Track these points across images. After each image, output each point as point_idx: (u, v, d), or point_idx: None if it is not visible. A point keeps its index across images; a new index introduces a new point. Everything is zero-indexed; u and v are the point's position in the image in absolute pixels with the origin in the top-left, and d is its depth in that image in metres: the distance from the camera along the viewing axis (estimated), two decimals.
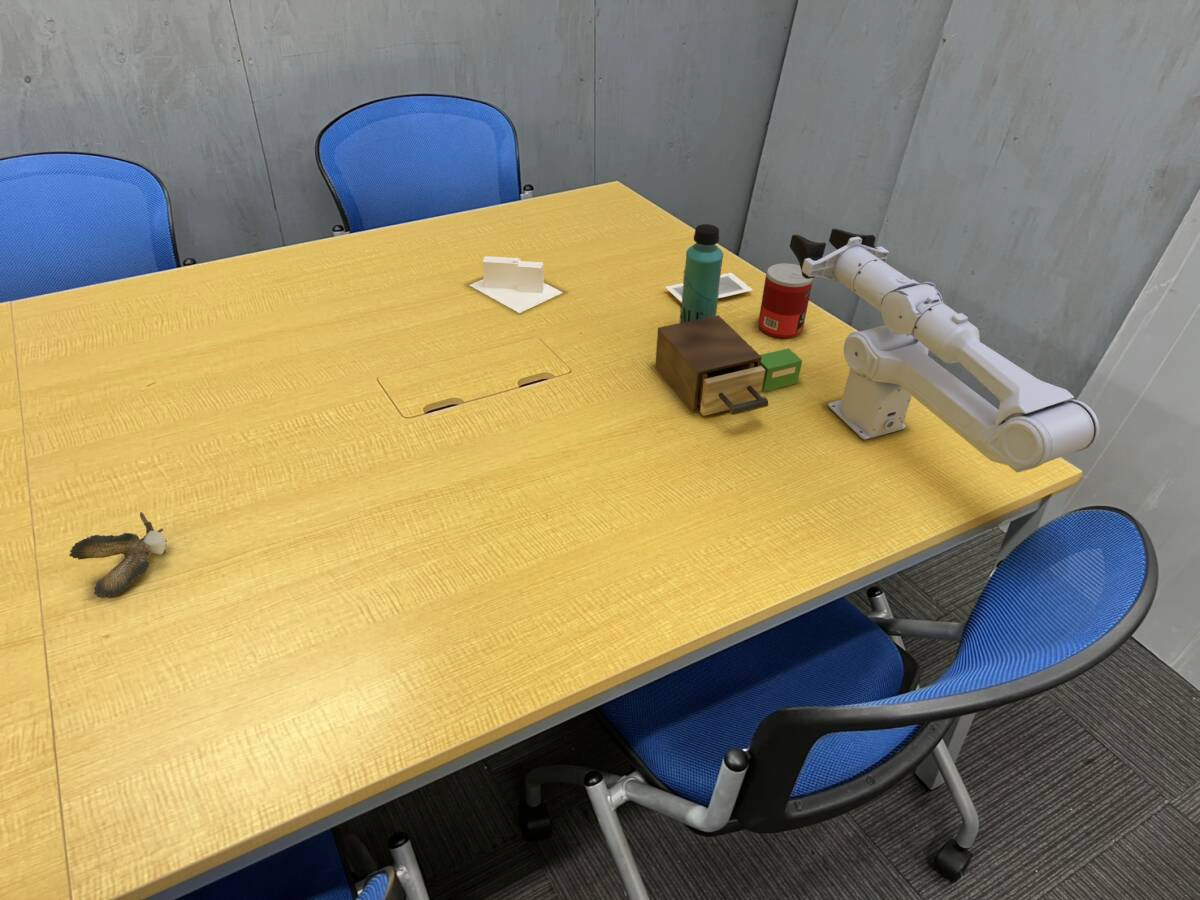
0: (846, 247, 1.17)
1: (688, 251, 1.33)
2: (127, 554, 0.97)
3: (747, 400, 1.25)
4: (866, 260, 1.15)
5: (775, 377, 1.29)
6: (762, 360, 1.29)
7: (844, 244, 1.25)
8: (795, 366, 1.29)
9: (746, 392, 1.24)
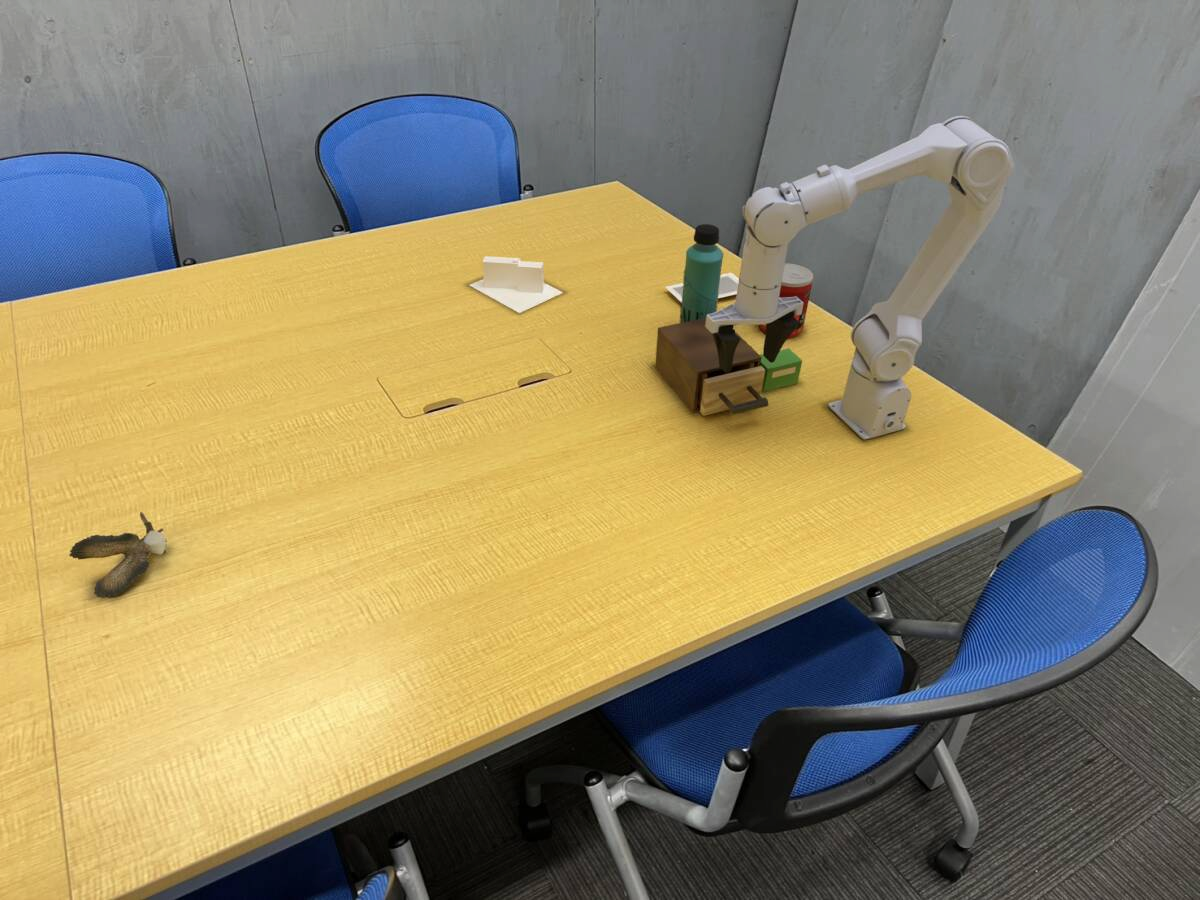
0: None
1: (688, 251, 1.33)
2: (127, 554, 0.97)
3: (747, 400, 1.25)
4: None
5: (775, 377, 1.29)
6: (762, 360, 1.29)
7: (771, 340, 1.16)
8: (795, 366, 1.29)
9: (746, 392, 1.24)
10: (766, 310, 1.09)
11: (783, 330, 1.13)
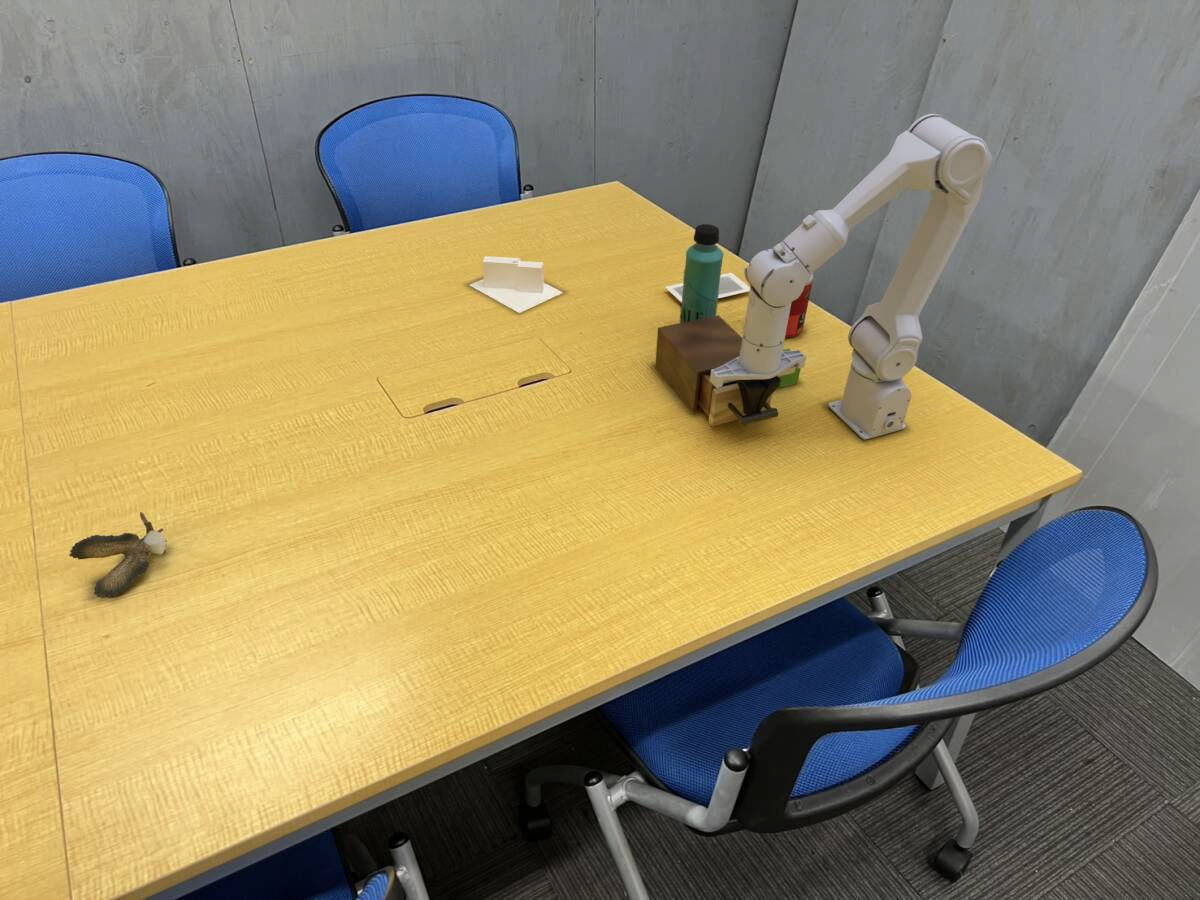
0: None
1: (688, 251, 1.33)
2: (127, 554, 0.97)
3: None
4: None
5: None
6: None
7: None
8: (795, 366, 1.29)
9: None
10: (770, 366, 1.11)
11: (765, 388, 1.15)
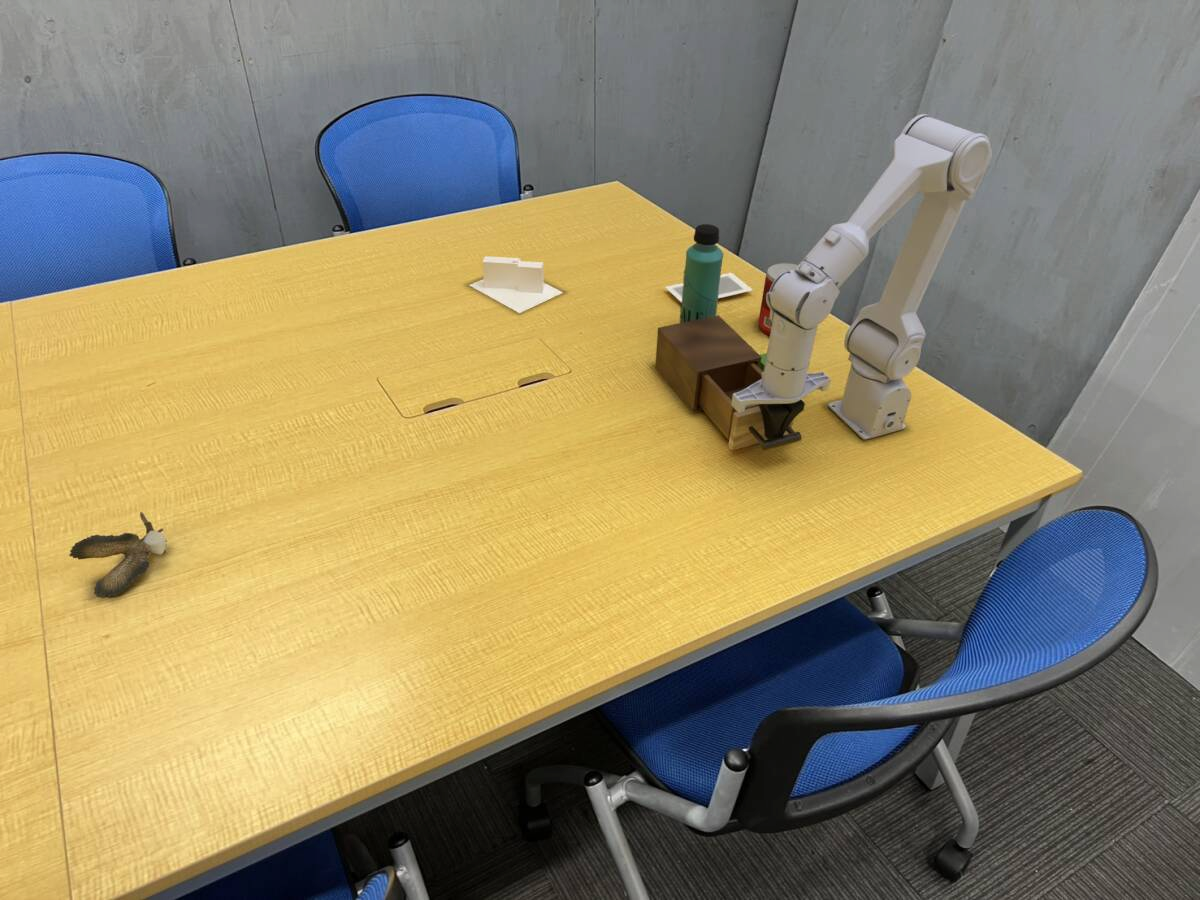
0: (762, 378, 1.12)
1: (688, 251, 1.33)
2: (127, 554, 0.97)
3: None
4: None
5: None
6: (762, 360, 1.29)
7: None
8: None
9: None
10: (794, 390, 1.07)
11: (789, 412, 1.10)
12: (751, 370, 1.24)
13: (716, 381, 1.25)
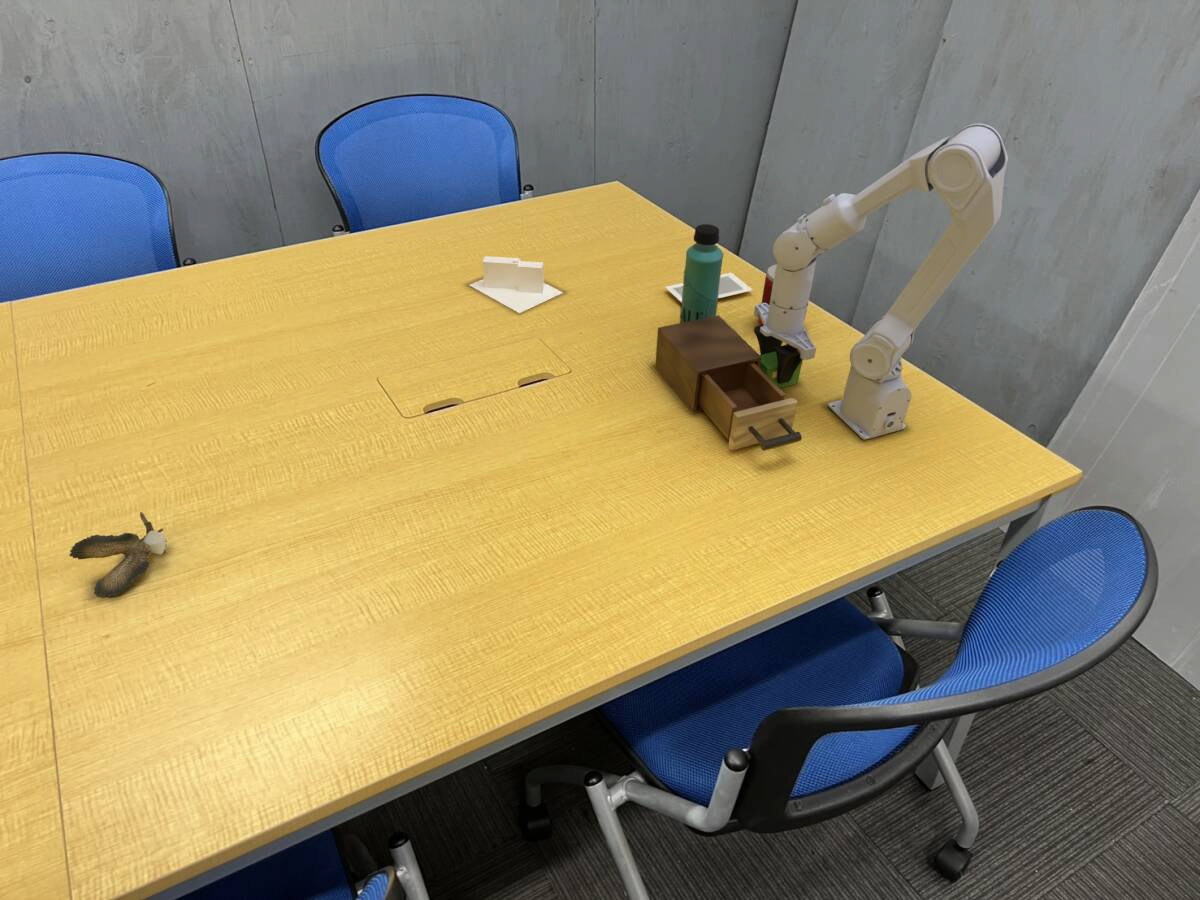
0: (774, 334, 1.24)
1: (688, 251, 1.33)
2: (127, 554, 0.97)
3: (778, 433, 1.19)
4: (778, 309, 1.22)
5: (775, 377, 1.29)
6: (762, 360, 1.29)
7: (772, 350, 1.31)
8: None
9: (777, 425, 1.18)
10: None
11: None
12: (751, 370, 1.24)
13: (716, 381, 1.25)
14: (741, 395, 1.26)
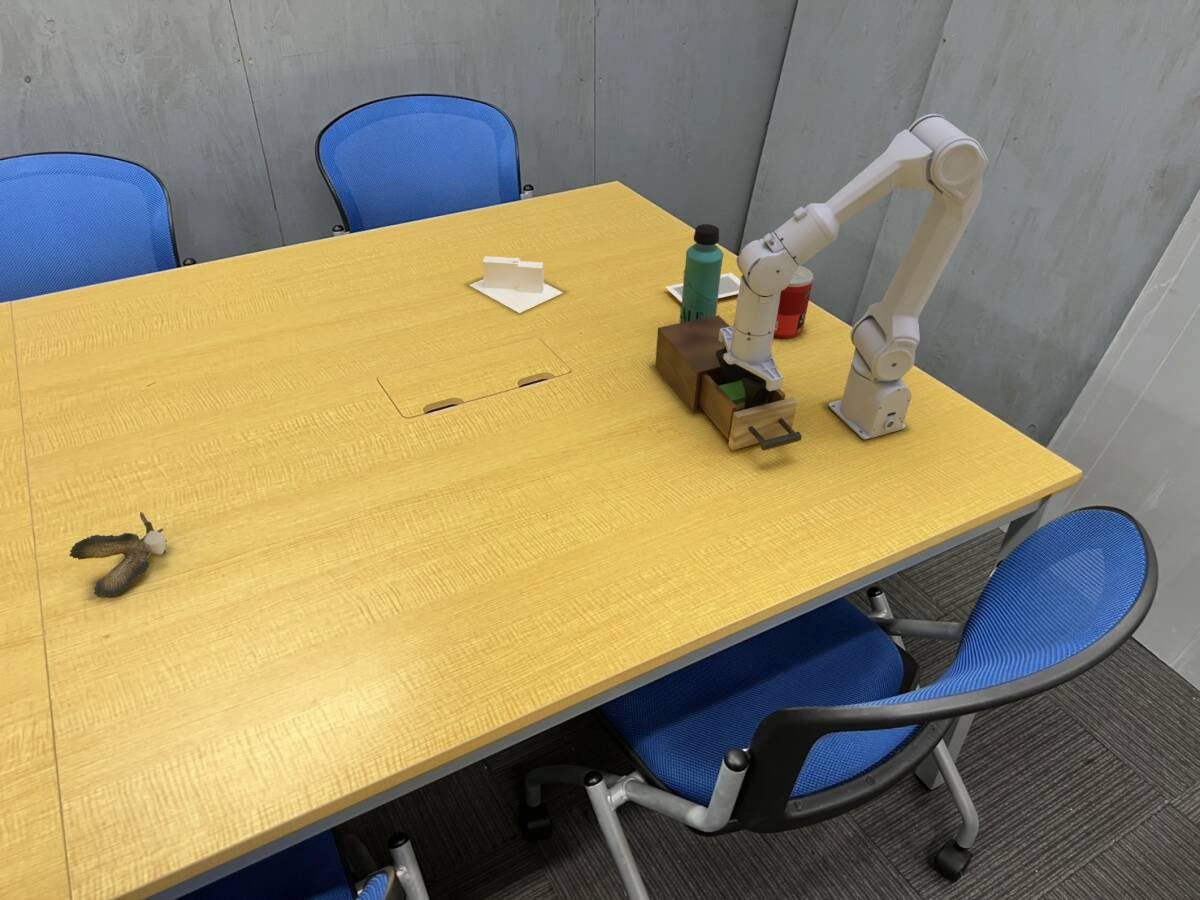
0: (738, 362, 1.14)
1: (688, 251, 1.33)
2: (127, 554, 0.97)
3: (778, 433, 1.19)
4: (741, 335, 1.12)
5: (740, 409, 1.19)
6: (726, 390, 1.19)
7: (735, 375, 1.22)
8: None
9: (777, 425, 1.18)
10: None
11: None
12: None
13: (716, 381, 1.25)
14: None
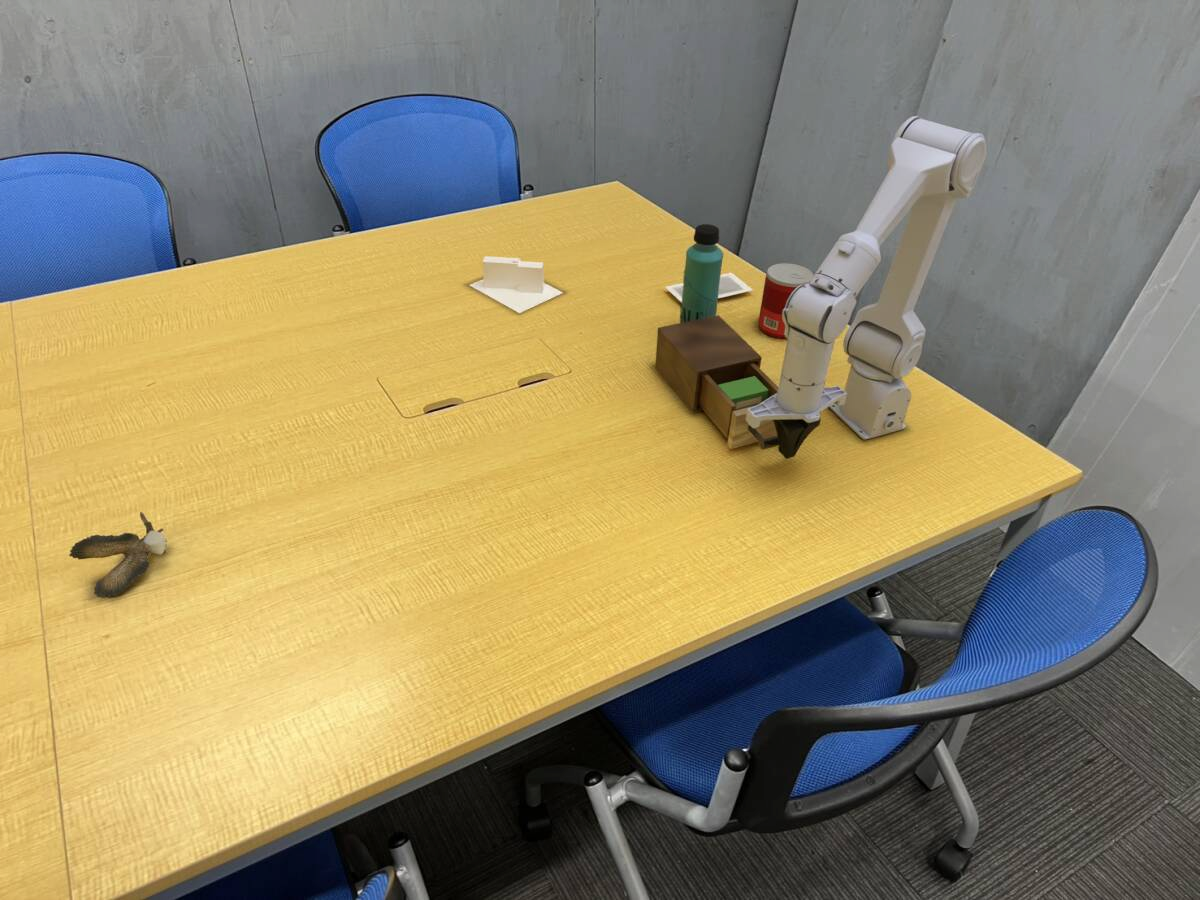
0: (818, 411, 1.06)
1: (688, 251, 1.33)
2: (127, 554, 0.97)
3: None
4: (821, 385, 1.03)
5: (739, 408, 1.20)
6: (725, 389, 1.19)
7: None
8: (761, 396, 1.20)
9: None
10: None
11: None
12: (750, 369, 1.24)
13: (715, 380, 1.25)
14: None
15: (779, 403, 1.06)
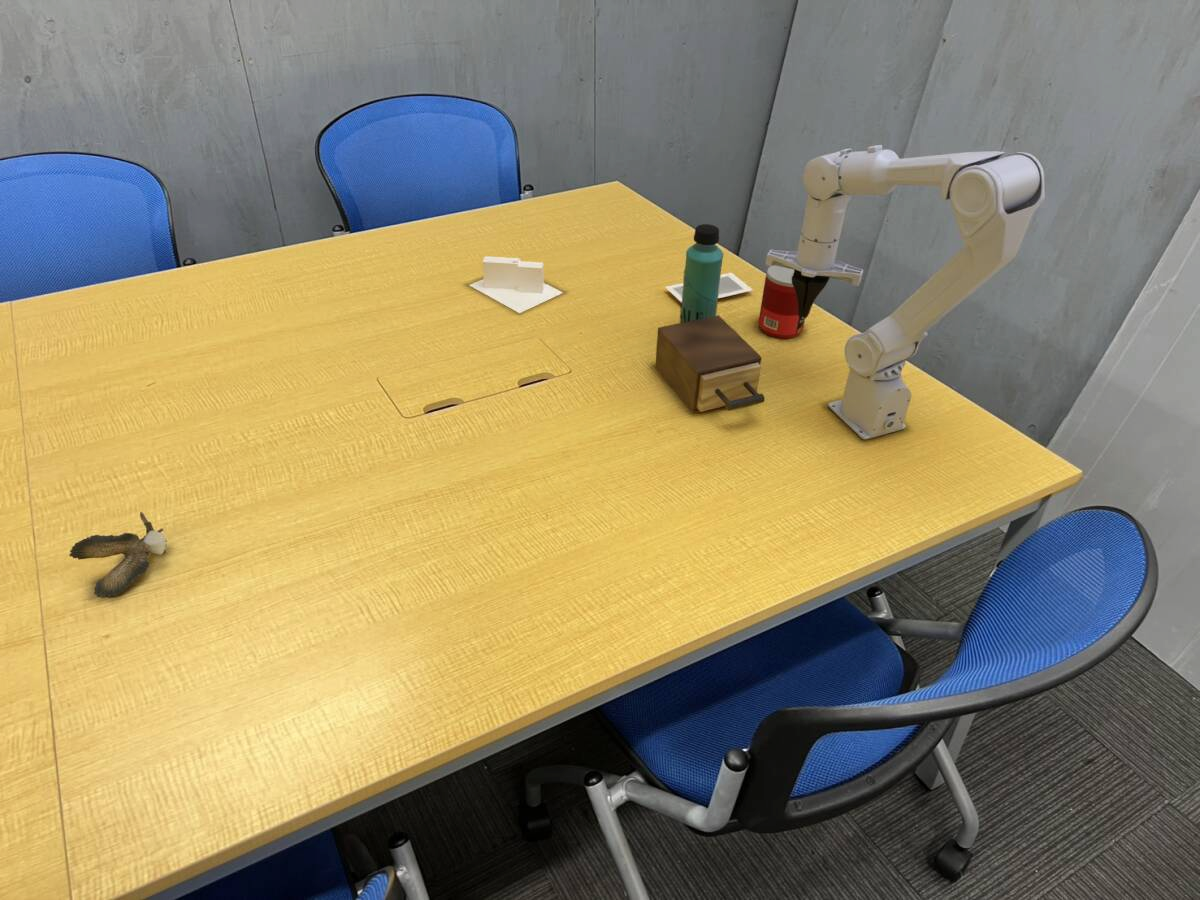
0: (819, 272, 1.21)
1: (688, 251, 1.33)
2: (127, 554, 0.97)
3: (743, 396, 1.26)
4: (822, 246, 1.18)
5: (708, 373, 1.26)
6: None
7: (806, 295, 1.27)
8: None
9: (742, 388, 1.25)
10: None
11: None
12: None
13: None
14: None
15: (797, 255, 1.24)
